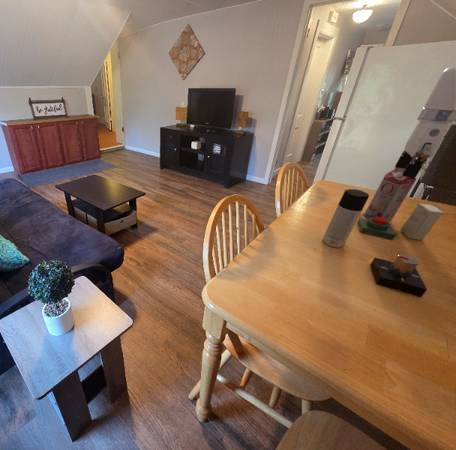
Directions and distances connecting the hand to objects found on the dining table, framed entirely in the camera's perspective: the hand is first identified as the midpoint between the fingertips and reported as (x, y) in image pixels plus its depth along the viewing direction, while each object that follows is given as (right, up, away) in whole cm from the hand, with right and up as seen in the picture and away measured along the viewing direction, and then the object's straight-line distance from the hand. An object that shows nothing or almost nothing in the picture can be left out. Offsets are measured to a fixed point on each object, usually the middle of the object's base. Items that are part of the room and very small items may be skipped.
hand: (404, 172), depth 81 cm
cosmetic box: (+16, -22, +13) cm, 30 cm away
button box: (+4, -20, +15) cm, 26 cm away
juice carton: (+13, -15, +24) cm, 31 cm away
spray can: (-18, -24, +8) cm, 31 cm away
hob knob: (-11, -31, -9) cm, 35 cm away
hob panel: (-11, -34, -8) cm, 37 cm away
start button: (+4, -17, +14) cm, 22 cm away
